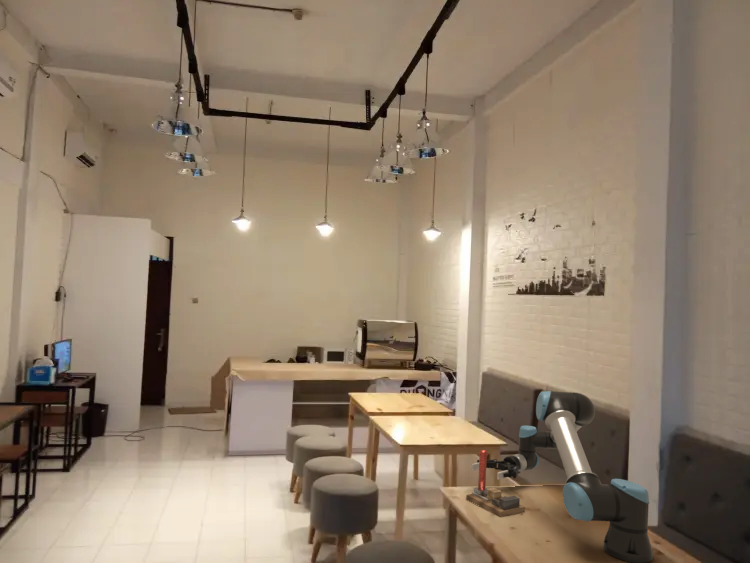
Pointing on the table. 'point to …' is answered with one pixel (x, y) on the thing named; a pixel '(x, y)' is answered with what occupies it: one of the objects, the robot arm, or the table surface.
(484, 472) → the press lever
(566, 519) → the table surface
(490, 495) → the block
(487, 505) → the press bed
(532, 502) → the table surface
